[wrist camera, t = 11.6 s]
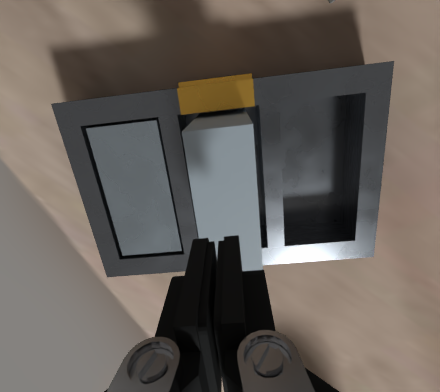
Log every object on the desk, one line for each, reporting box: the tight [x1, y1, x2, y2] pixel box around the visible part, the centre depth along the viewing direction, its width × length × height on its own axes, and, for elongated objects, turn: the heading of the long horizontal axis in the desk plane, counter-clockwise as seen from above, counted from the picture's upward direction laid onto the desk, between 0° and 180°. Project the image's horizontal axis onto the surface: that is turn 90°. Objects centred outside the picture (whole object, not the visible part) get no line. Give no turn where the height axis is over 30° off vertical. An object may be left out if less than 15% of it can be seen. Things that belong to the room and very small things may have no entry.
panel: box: [182, 108, 263, 271], centre depth 18 cm, size 3×8×8 cm, turn 6°
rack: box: [51, 61, 394, 277], centre depth 20 cm, size 20×13×4 cm, turn 97°
